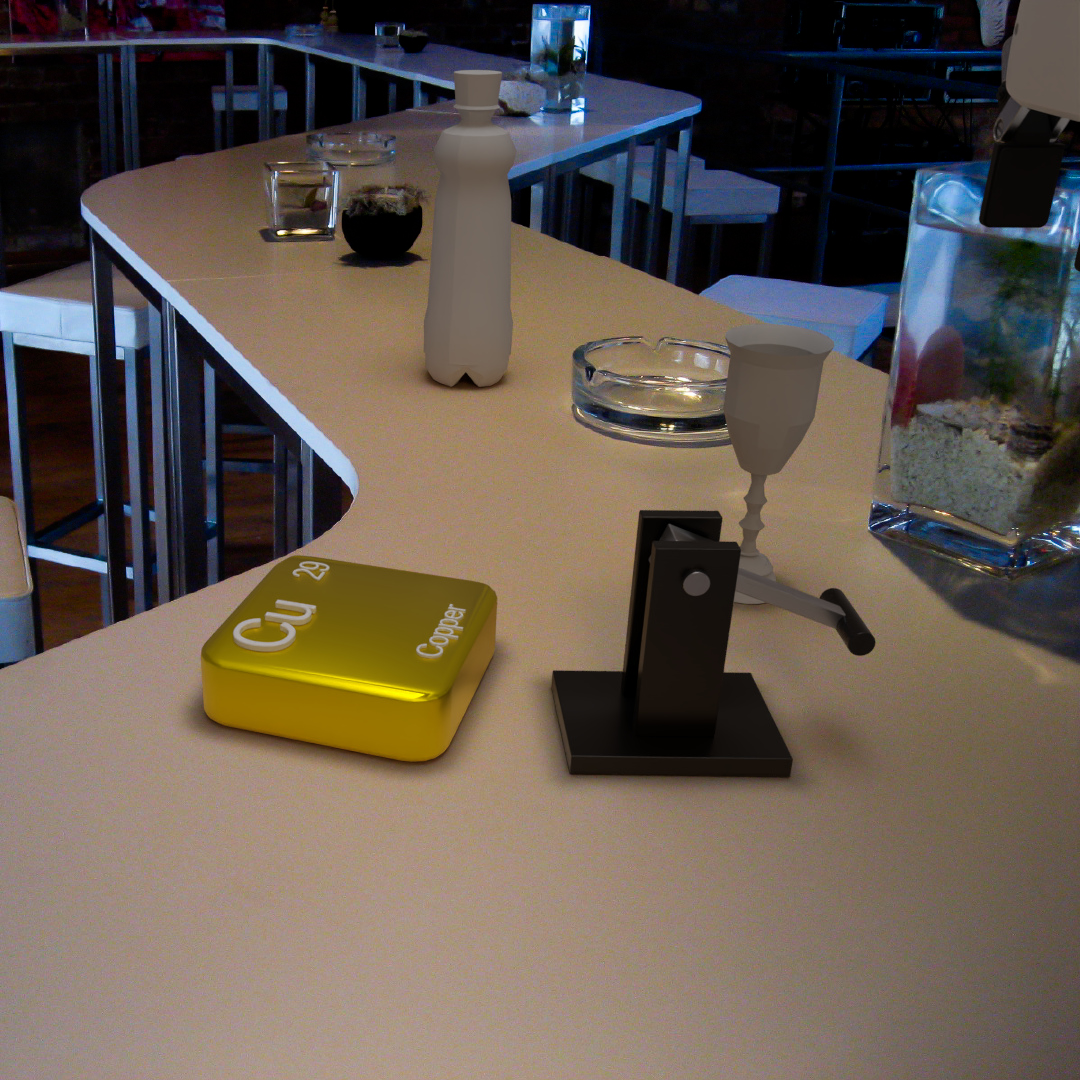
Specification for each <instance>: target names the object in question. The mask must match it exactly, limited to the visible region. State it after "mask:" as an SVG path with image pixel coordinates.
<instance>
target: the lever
mask: <svg viewBox="0 0 1080 1080" xmlns="http://www.w3.org/2000/svg"><path fill="white" fill-rule="evenodd" d="M659 541H712V540H710V539H707V538H704V537H702V536H699V535H697V534H694V533H692V532H689V531H686V530H684V529H681V528H679V527H676V526H674V525H671V524H668V525H667V527H666V529H665V531H664V532H663V534H662V536H661V538H660V540H659ZM650 560H651V556H650V557H649V562H650ZM735 591H737V592H740V593H742V594H745V595H748V596H750V597H753V598H756V599H758V600H761V601H763V602H766V604H769V605H771V606H775V607H776V608H779V609H782V610H783V611H786V612H787V611H788V612H790V613H792V614H795V615H797V616H799V617H800V616H801V617H803V618H805V619H808V620H810V621H814V622H816V623H819V624H821V625H824V626H826V627H828V628H831V629H834V630H835V631H836V632H837V634H838V635H839V637H840V638H841V640H842V641H843V643H844V645H845V646H846V648H847V650H848V651H849V652H850V653H851V654H852V655H854V656H857V657H863V656H867V655H869V654H870V653H871V652H872V651H874V649H875V648H876V641H877V640H876V638H875V636H874V635H873V633H872V632H871V631H870V629H869V627H868V626H867V625H866V623H865V621H864V620H863V619H862V617H861V616H860V615H859V613H858V612H857V610H856V609H855V607H854V606H853V604H852V603H851V602H850V600H849V599H848V597H847V596H846V595H845V593H844V591H842V589H839V588H836V587H830V588H827V589H825V590H824V591H823V592H821V594H820V595H819V597H818V596H815V595H813V594H809V593H807V592H804V591H801V590H799V589H796V588H795V587H791V586H789V585H786V584H783V583H781V582H777V580H776V581H773V580H770V579H768V578H765V577H763V576H760V575H757V574H755V573H752V572H750V571H747V570H745V569H742V568H739V569H738V576H737V583H736V590H735Z"/></svg>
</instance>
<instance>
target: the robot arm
mask: <svg viewBox="0 0 1080 1080" xmlns="http://www.w3.org/2000/svg"><path fill="white" fill-rule="evenodd" d="M1012 33H1013V34H1012V35H1011V36H1010V37H1008V38H1007V39H1006V40H1005V42H1004V43H1003V45H1002V48H1001V83H1000V86H999V87H998V88H997V90H998V92H996V94H995V97H996V98H995V99H996V100H997V103H998V110H999V115H998V116H997V117H996V120H995V122H994V124H993V128H992V137H993V141H994V143H993V149H992V154H991V158H990V164H989V169H988V172H987V178H986V183H985V186H984V192H983V196H982V202H981V205H980V206H981V207H980V211H979V216H978V221H979V223H980V225H982V226H983V227H986V228H989V229H990V228H993V229H994V228H995V229H997V228H998V229H1004V228H1005V229H1009V228H1011V229H1040V228H1043V227H1045V226H1046V225H1047V224H1048V222H1049V219H1050V215H1051V211H1052V206H1053V201H1054V197H1055V193H1056V188H1057V184H1058V181H1059V180H1058V179H1059V175H1060V170H1061V166H1062V163H1063V158H1064V153H1065V149H1066V144H1065V143H1062V142H1056V141H1057V139H1059V137H1060V135H1061V134H1062V132H1063V131H1064V130H1065V128H1066V127H1067V126H1068V125H1069V122H1070V121H1075V122H1079V123H1080V0H1020V2H1019V6H1018V9H1017V14H1016V18H1015V22H1014V28H1013V32H1012ZM1078 241H1079V242H1078V246H1077V250H1076V254H1075V258H1074V262H1073V266H1074V269H1075V270H1076V271H1077V272H1079V273H1080V240H1078Z"/></svg>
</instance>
